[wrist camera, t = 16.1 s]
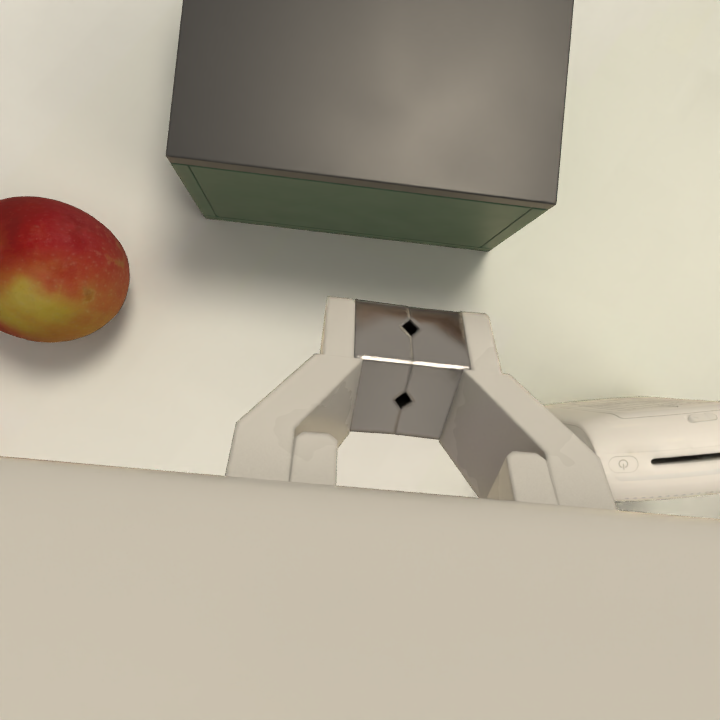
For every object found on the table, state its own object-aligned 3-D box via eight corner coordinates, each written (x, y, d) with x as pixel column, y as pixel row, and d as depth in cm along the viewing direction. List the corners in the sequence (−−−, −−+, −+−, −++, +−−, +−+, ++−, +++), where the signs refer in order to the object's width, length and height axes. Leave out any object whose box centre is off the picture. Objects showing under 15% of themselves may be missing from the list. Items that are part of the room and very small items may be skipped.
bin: (230, -17, 39) (204, -151, 29) (509, 24, 40) (575, -90, 30) (204, 218, 38) (169, 163, 28) (488, 251, 39) (548, 210, 30)
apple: (60, 189, 37) (-6, 138, 29) (169, 276, 38) (132, 249, 30) (-25, 288, 37) (-117, 263, 29) (85, 375, 37) (25, 374, 29)
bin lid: (206, -168, 29) (203, -185, 28) (576, -106, 30) (585, -121, 29) (169, 162, 28) (165, 155, 27) (549, 209, 30) (557, 204, 29)
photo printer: (508, 475, 39) (601, 519, 27) (502, 406, 39) (592, 419, 27) (666, 458, 40) (825, 495, 28) (659, 391, 40) (815, 398, 28)
